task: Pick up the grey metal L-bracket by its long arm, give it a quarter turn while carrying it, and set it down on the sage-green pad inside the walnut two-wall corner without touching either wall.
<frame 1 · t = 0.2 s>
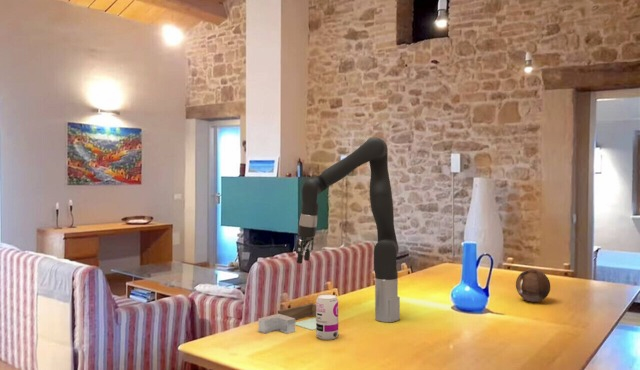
hand: (303, 261, 231), 22 cm above the table, tool pointing down, fingers open, 8 cm apart
supplement can: (327, 337, 197), on the table
brown wooden corner wall: (311, 315, 228), on the table
wooden sphere: (532, 301, 250), on the table
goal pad: (313, 324, 214), on the table
bracket: (283, 329, 207), on the table
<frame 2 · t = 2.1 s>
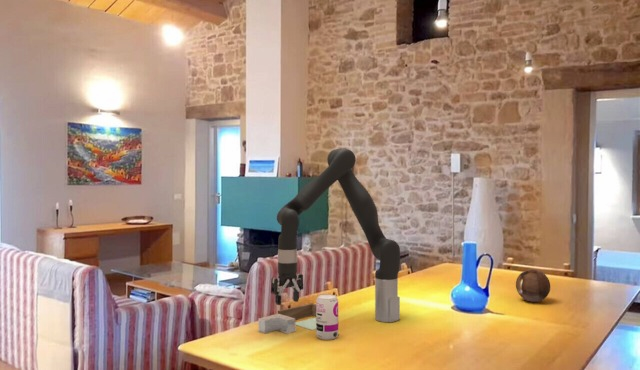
hand: (287, 303, 204), 11 cm above the table, tool pointing down, fingers open, 8 cm apart
nothing on the table moved.
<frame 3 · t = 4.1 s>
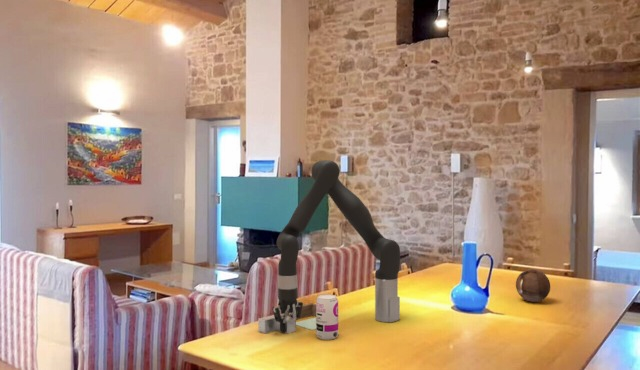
hand: (288, 330, 204), 0 cm above the table, tool pointing down, fingers closed on bracket, 4 cm apart
bracket: (282, 329, 207), on the table, touching gripper
everything else where it was.
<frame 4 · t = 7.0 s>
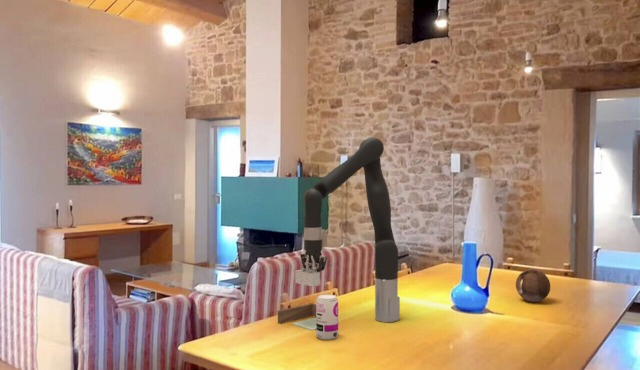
hand: (313, 279, 218), 17 cm above the table, tool pointing down, fingers closed on bracket, 4 cm apart
bracket: (308, 281, 216), point 17 cm above the table, touching gripper
everything else where it was.
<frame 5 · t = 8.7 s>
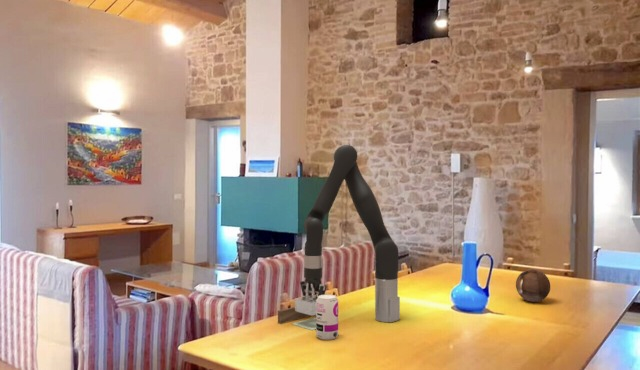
hand: (313, 307, 218), 6 cm above the table, tool pointing down, fingers closed on bracket, 4 cm apart
bracket: (307, 309, 216), point 5 cm above the table, touching gripper
everything else where it was.
when the fingers open (2 cm above the table, at t = 10.1 s): bracket drops 1 cm, resting on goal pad.
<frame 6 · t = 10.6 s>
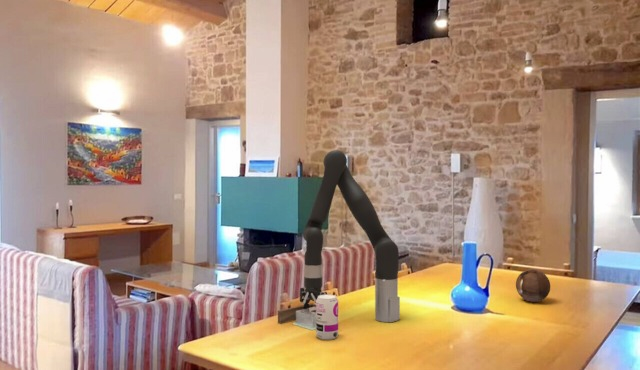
hand: (313, 315, 218), 3 cm above the table, tool pointing down, fingers open, 8 cm apart
bracket: (308, 322, 216), resting on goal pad
everything else where it was.
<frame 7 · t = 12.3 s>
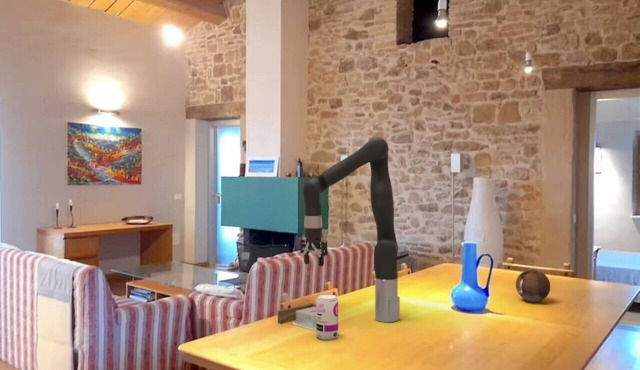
hand: (313, 264, 225), 22 cm above the table, tool pointing down, fingers open, 8 cm apart
nothing on the table moved.
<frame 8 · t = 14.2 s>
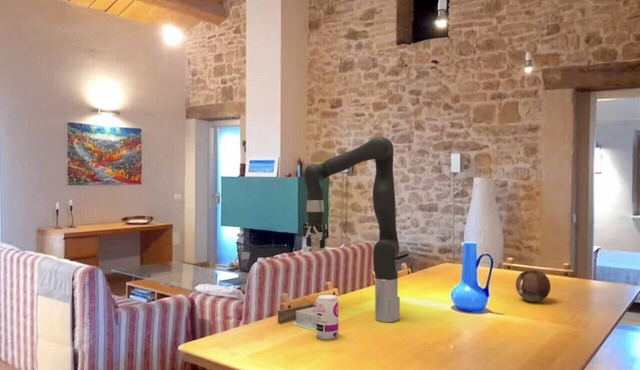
hand: (315, 247, 234), 28 cm above the table, tool pointing down, fingers open, 8 cm apart
nothing on the table moved.
at the end: bracket inside the target area (0.1 cm from its centre), resting on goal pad; bracket tilted 0°; bracket touching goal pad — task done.
